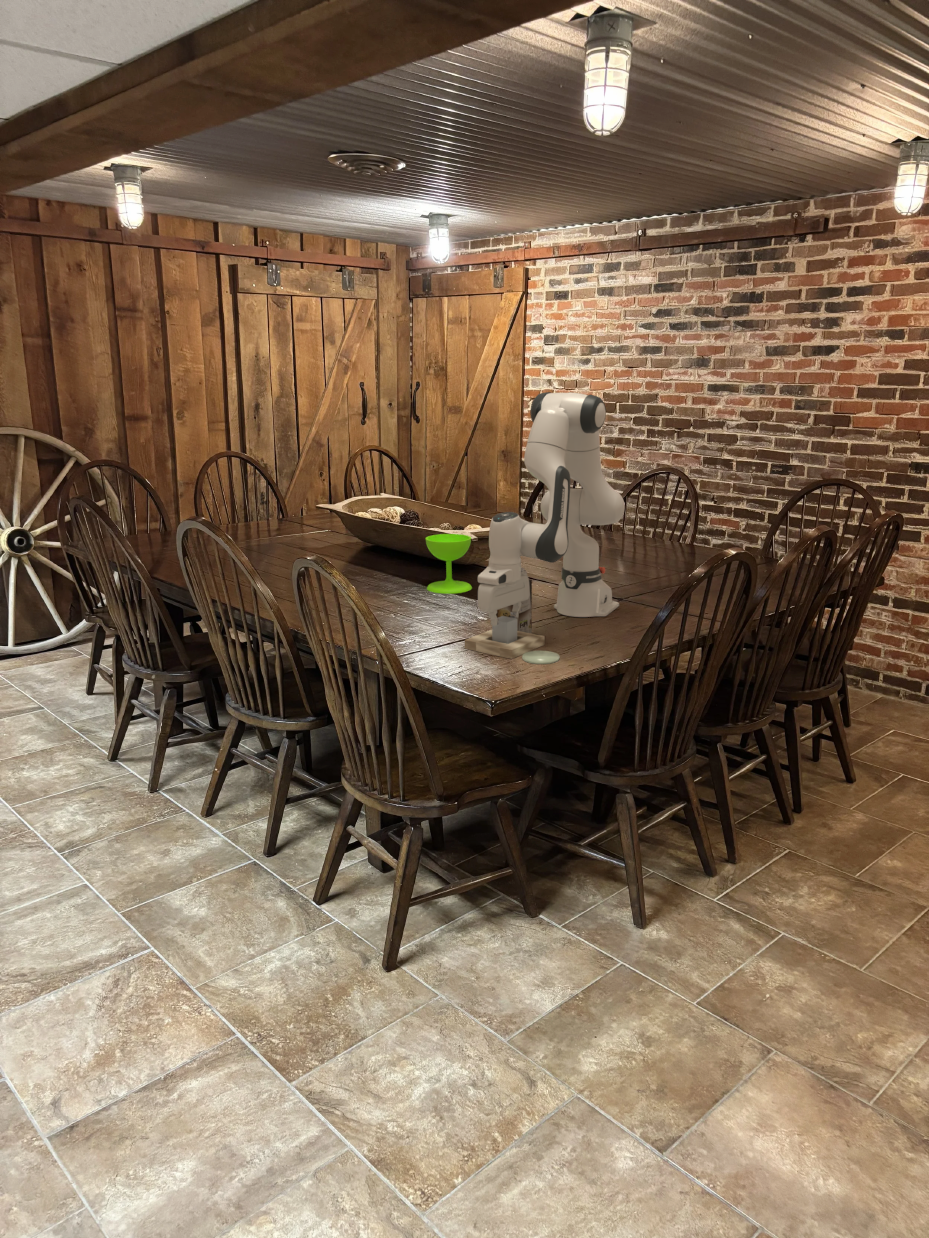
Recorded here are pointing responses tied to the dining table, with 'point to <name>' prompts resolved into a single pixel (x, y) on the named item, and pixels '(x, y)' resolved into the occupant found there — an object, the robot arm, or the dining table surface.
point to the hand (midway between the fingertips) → (504, 621)
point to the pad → (540, 657)
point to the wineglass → (448, 560)
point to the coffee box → (521, 613)
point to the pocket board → (504, 644)
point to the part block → (505, 630)
